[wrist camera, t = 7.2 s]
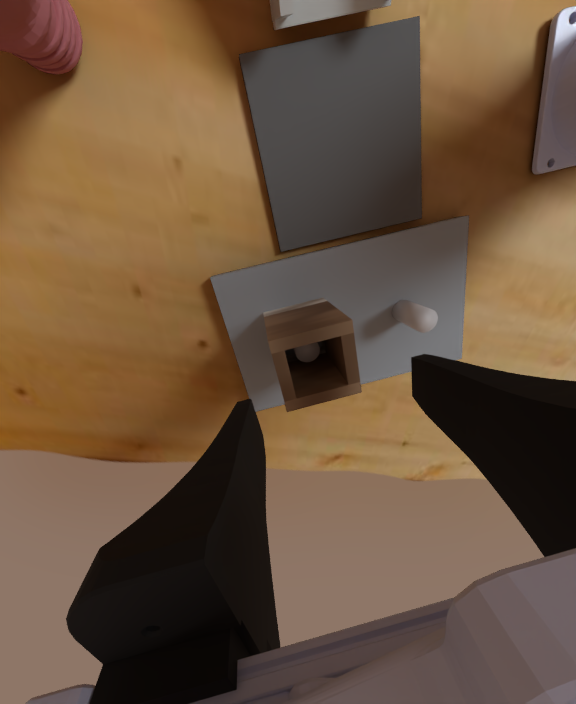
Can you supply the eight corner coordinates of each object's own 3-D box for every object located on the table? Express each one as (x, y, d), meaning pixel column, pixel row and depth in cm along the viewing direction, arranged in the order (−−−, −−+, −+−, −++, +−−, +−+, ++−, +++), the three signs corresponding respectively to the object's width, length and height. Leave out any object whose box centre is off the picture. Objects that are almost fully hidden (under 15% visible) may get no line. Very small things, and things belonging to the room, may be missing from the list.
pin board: (458, 216, 19) (508, 210, 15) (453, 353, 23) (491, 374, 20) (212, 276, 18) (202, 284, 15) (253, 405, 23) (254, 436, 19)
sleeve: (322, 297, 19) (352, 319, 13) (332, 352, 21) (361, 392, 15) (263, 312, 19) (267, 341, 13) (277, 366, 21) (286, 412, 15)
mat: (415, 21, 15) (419, 16, 14) (418, 218, 19) (421, 218, 18) (239, 59, 14) (239, 54, 14) (280, 251, 18) (281, 251, 18)
